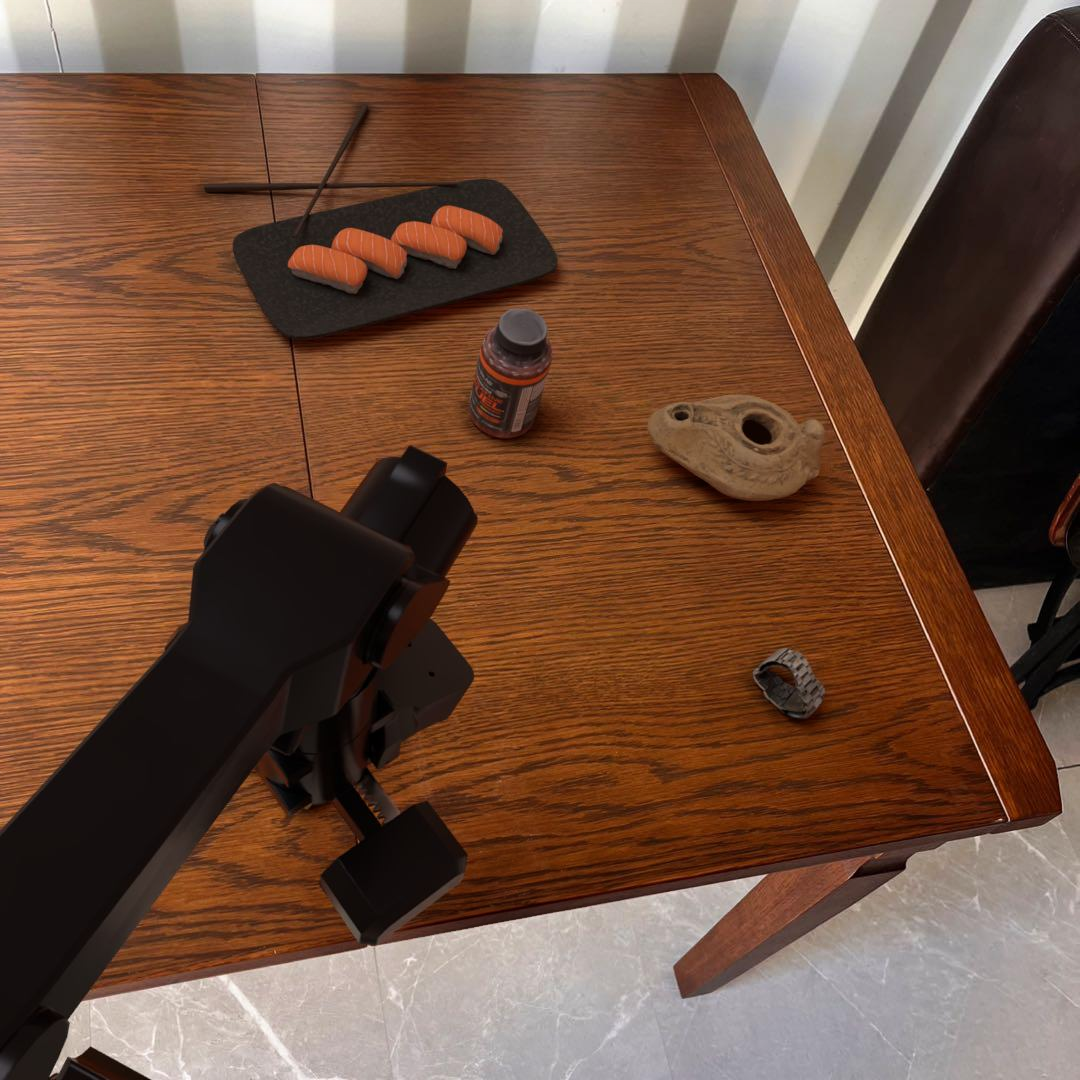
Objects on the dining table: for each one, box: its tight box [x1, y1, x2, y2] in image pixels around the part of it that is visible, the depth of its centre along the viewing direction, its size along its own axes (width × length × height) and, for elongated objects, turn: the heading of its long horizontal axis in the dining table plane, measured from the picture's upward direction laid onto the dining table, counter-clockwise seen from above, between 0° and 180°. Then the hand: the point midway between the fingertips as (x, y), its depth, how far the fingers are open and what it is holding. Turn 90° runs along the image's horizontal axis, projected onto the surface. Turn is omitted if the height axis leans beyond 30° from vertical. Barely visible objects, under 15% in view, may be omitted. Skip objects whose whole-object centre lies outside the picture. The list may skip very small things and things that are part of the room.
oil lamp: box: [646, 394, 826, 502], centre depth 93 cm, size 11×15×8 cm
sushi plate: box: [203, 103, 559, 341], centre depth 105 cm, size 29×30×4 cm
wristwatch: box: [752, 647, 826, 720], centre depth 84 cm, size 3×5×5 cm
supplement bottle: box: [468, 307, 553, 439], centre depth 91 cm, size 6×6×11 cm
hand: (311, 811), depth 61 cm, fingers open, 9 cm apart
